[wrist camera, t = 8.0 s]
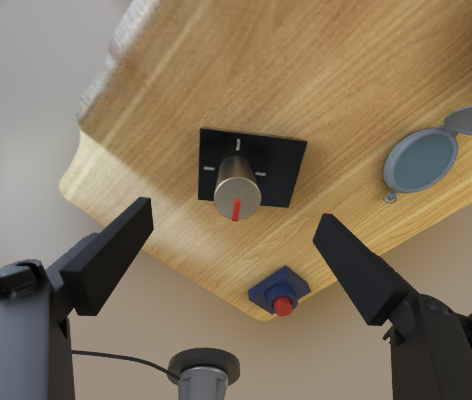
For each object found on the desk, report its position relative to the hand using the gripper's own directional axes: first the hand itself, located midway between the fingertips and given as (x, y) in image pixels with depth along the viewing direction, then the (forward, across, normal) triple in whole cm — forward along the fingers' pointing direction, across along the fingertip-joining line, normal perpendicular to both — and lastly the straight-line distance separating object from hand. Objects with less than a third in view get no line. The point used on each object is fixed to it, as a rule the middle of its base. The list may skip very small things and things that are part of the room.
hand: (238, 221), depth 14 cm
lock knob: (+12, 0, 0) cm, 12 cm away
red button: (+12, +13, -27) cm, 32 cm away
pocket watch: (+15, +28, +4) cm, 32 cm away
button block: (+16, +13, -27) cm, 33 cm away
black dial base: (+15, +2, 0) cm, 15 cm away
